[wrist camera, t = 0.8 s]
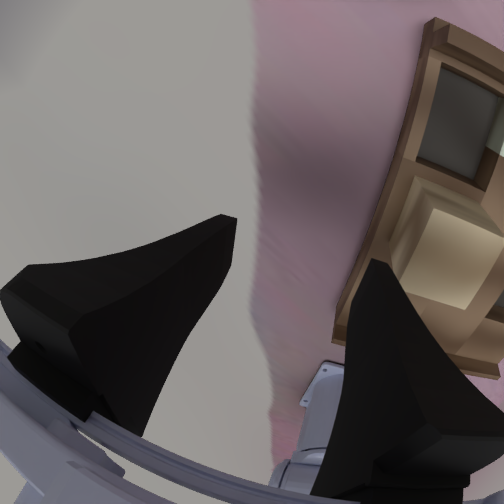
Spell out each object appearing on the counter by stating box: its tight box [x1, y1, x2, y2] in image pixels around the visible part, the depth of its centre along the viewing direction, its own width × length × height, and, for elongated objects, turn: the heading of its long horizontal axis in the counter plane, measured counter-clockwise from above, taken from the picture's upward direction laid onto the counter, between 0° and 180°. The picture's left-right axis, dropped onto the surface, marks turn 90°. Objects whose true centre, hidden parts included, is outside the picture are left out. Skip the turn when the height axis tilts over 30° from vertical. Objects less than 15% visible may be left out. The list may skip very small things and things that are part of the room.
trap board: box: [331, 17, 504, 380], centre depth 14 cm, size 22×17×6 cm
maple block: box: [389, 176, 504, 310], centre depth 14 cm, size 4×4×4 cm
